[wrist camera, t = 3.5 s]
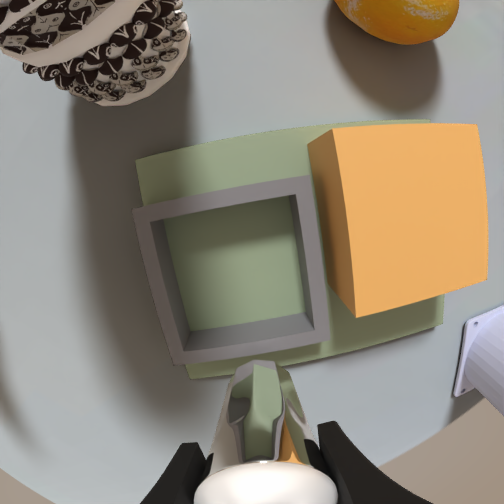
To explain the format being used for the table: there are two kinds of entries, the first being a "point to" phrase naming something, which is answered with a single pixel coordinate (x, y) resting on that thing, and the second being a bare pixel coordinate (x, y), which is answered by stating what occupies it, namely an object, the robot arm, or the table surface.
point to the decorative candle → (97, 44)
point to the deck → (310, 239)
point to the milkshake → (264, 445)
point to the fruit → (402, 18)
